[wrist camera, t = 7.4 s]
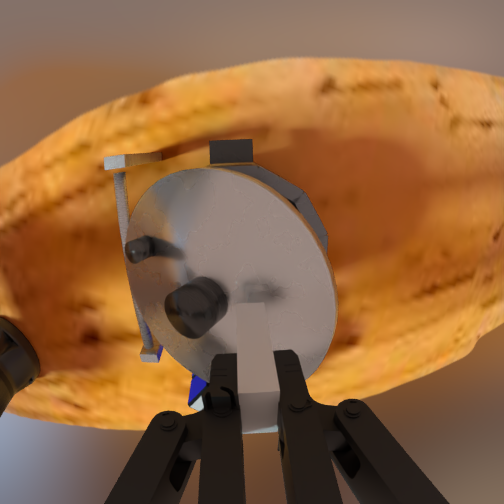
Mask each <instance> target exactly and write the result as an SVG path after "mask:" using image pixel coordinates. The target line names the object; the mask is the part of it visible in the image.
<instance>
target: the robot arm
mask: <svg viewBox="0 0 504 504" xmlns="http://www.w3.org/2000/svg"><path fill="white" fill-rule="evenodd" d="M236 306H237V353H228V354H216V355H215V357H214V358H213V359H212V361H211V371H210V381H209V387H208V388H207V389H206V390H205V391H204V392H203V394H202V396H201V397H202V402H203V406H204V408H203V409H202V410H200V411H199V412H197V413H194V414H190V415H186V416H182V415H181V414H180V413H178V412H175V411H163V412H160V413H159V414H157V415H156V416H155V417H154V418H153V419H152V421H151V422H150V424H149V426H148V428H147V429H146V431H145V433H144V435H143V436H142V438H141V440H140V442H139V443H138V445H137V447H136V449H135V450H134V452H133V454H132V456H131V457H130V459H129V461H128V463H127V464H126V466H125V468H124V470H123V471H122V473H121V475H120V477H119V478H118V480H117V482H116V484H115V485H114V487H113V489H112V491H111V492H110V494H109V496H108V498H107V500H106V501H105V503H104V504H179V502H180V499H181V497H182V495H183V492H184V490H185V487H186V485H187V482H188V480H189V478H190V475H191V472H192V470H193V468H194V465H195V463H196V460H197V459H201V463H200V479H199V497H198V504H246V495H245V476H244V457H243V456H244V455H243V440H242V434H250V433H266V432H277V431H278V433H279V441H278V451H280V457H281V465H282V472H283V479H284V486H285V493H286V500H287V504H343V502H342V498H341V494H340V491H339V487H338V484H337V480H336V476H335V472H334V469H333V465H332V461H331V459H332V460H333V462H334V463H335V465H336V467H337V468H338V470H339V472H340V473H341V475H342V476H343V478H344V480H345V481H346V483H347V484H348V486H349V487H350V489H351V490H352V492H353V493H354V495H355V497H356V498H357V500H358V501H359V503H360V504H449V503H448V502H447V500H446V499H445V498H444V497H443V495H442V494H441V493H440V492H439V491H438V490H437V488H436V487H435V486H434V485H433V484H432V482H431V481H430V480H429V479H428V478H427V477H426V475H425V474H424V473H423V472H422V471H421V469H420V468H419V467H418V466H417V465H416V463H415V462H414V461H413V460H412V459H411V457H409V455H408V454H407V453H406V451H405V450H404V449H403V448H402V447H401V445H400V444H399V443H398V442H397V441H396V440H395V438H394V437H393V436H392V435H391V433H390V432H389V431H388V430H387V429H386V427H385V426H384V425H383V424H382V423H381V421H380V420H379V419H378V418H377V417H376V415H375V414H374V413H373V412H372V410H371V409H370V408H369V407H368V406H367V405H366V404H365V403H364V402H363V401H360V400H358V399H347V400H344V401H342V402H340V403H339V404H338V406H331V405H324V404H320V403H318V402H316V401H314V400H313V399H312V398H311V397H310V395H309V393H308V389H307V385H306V382H305V378H304V375H303V371H302V368H301V365H300V361H299V357H298V355H297V354H296V353H295V352H294V351H293V350H292V349H288V350H275V351H273V349H272V343H271V338H270V332H269V326H268V321H267V315H266V310H265V304H264V302H261V303H239V304H236ZM39 373H40V364H39V360H38V358H37V355H36V353H35V351H34V349H33V348H32V346H31V345H30V343H29V342H28V340H27V339H26V338H25V337H24V335H23V334H22V333H21V332H20V331H19V330H18V329H17V328H16V327H15V326H14V325H13V324H11V323H10V322H8V321H7V320H5V319H3V318H1V317H0V417H1V415H2V413H3V412H4V410H5V409H6V407H7V405H8V404H9V402H10V401H11V399H12V397H13V396H14V395H15V394H16V393H17V392H19V391H20V390H22V389H24V388H25V387H27V386H28V385H30V384H32V383H33V382H34V381H35V379H36V378H37V376H38V375H39Z"/></svg>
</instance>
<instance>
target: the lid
mask: <svg viewBox="0 0 504 504" xmlns="http://www.w3.org/2000/svg"><path fill="white" fill-rule="evenodd" d="M114 185H115V195H116V204H117V213H118V221H119V228H120V235H121V241H122V247H123V253H124V259H125V265H126V270H127V275H128V280H129V285H130V290H131V295H132V299H133V304H134V308H135V312H136V316H137V320H138V324H139V328H140V332H141V336H142V340H143V343H144V347H145V348H146V349H151V348H153V347H154V343H153V339H152V335H151V332H152V333H153V335H154V336H155V337H156V339H157V340H158V341H159V343H160V344H161V345H162V346H163V347H164V348H165V349H166V351H167V352H168V353H169V354H170V355H171V356H172V357H173V358H174V359H175V360H176V361H178V362H179V363H180V364H181V365H182V366H184V367H185V368H186V369H187V370H189V371H190V372H192V373H193V374H194V375H196V376H198V377H199V378H201V379H203V380H204V381H206V382H208V383H209V381H210V371H211V361H212V359H213V358H214V357H215V355H216V354H228V353H237V306H236V304H239V303H261V302H264V304H265V310H266V315H267V321H268V326H269V332H270V338H271V343H272V349H273V351H275V350H288V349H292V350H293V351H294V352H295V353H296V354H297V355H298V357H299V361H300V365H301V368H302V371H303V375H304V378H305V380H306V379H308V378H309V377H310V376H311V375H312V374H313V373H314V372H315V370H316V369H317V368H318V367H319V365H320V364H321V362H322V361H323V359H324V357H325V355H326V353H327V351H328V349H329V346H330V344H331V342H332V339H333V337H334V333H335V329H336V325H337V320H338V294H337V285H336V281H335V277H334V273H333V269H332V266H331V263H330V261H329V258H328V256H327V253H326V251H325V249H324V247H323V245H322V243H321V242H320V240H319V238H318V236H317V235H316V233H315V231H314V230H313V228H312V227H311V226H310V224H309V223H308V222H307V220H306V219H305V218H304V217H303V215H302V214H301V213H300V212H299V211H298V210H297V209H296V208H295V207H294V206H293V205H292V204H291V203H290V202H289V201H288V200H287V199H286V198H285V197H283V196H282V195H281V194H279V193H278V192H277V191H275V190H274V189H273V188H272V187H270V186H268V185H266V184H265V183H263V182H261V181H259V180H258V179H256V178H254V177H251V176H248V175H246V174H243V173H241V172H238V171H233V170H229V169H224V168H213V167H205V168H196V169H189V170H182V171H179V172H176V173H173V174H170V175H168V176H166V177H164V178H162V179H160V180H159V181H157V182H156V183H155V184H154V185H152V186H151V187H150V188H149V189H148V190H147V191H146V192H145V193H144V195H143V196H142V197H141V199H140V200H139V202H138V203H137V205H136V207H135V209H134V211H133V213H132V215H131V218H130V214H129V206H128V196H127V186H126V174H125V172H119V173H114ZM150 330H151V331H150Z"/></svg>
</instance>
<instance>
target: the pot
mask: <svg viewBox="0 0 504 504" xmlns="http://www.w3.org/2000/svg"><path fill="white" fill-rule="evenodd" d="M209 145H210V164H211V165H209V166H207V167H213V168H224V169H229V170H233V171H238V172H241V173H243V174H246V175H248V176H251V177H254V178H256V179H258V180H259V181H261V182H263V183H265V184H266V185H268V186H270V187H272V188H273V189H274V190H275V191H277V192H278V193H279V194H281V195H282V196H283V197H285V198H286V199H287V200H288V201H289V202H290V203H291V204H292V205H293V206H294V207H295V208H296V209H297V210H298V211H299V212H300V213H301V214H302V215H303V217H304V218H305V219H306V220H307V222H308V223H309V224H310V226H311V227H312V228H313V230H314V231H315V233H316V235H317V236H318V238H319V240H320V242H321V243H322V245H323V247H324V249H325V251H326V253H327V246H328V235H327V234H328V233H327V231H326V229H325V228H324V226H323V224H322V222H321V220H320V218H319V216H318V214H317V213H316V211H315V209H314V207H313V205H312V203H311V202H310V200H309V198H308V196H307V194H306V193H305V192H304V191H303V190H302V189H300V188H298V187H297V186H295V185H293V184H292V183H290V182H288V181H287V180H285V179H283V178H282V177H280V176H278V175H276V174H274V173H273V172H271V171H269V170H267V169H265V168H263V167H262V166H260V165H258V164H256V163H254V162H253V145H252V139H240V140H217V141H209ZM158 161H162V153H161V152H157V153H138V154H124V155H117V156H111V157H105V158H104V167H105V170H109V169H116V168H123V167H129V166H134V165H140V164H146V163H152V162H158ZM150 331H151V330H150ZM151 335H152V339H153V343H154V347H153V348H151V349H146V348H145V347H144V345H143V347H142V350H141V352H140V357H141V360H142V362H157V363H159V360H160V357H161V353H162V350H163V346H162V345H161V344H160V343H159V341H158V340H157V339H156V337H155V336H154V335H153V333H152V332H151Z"/></svg>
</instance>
